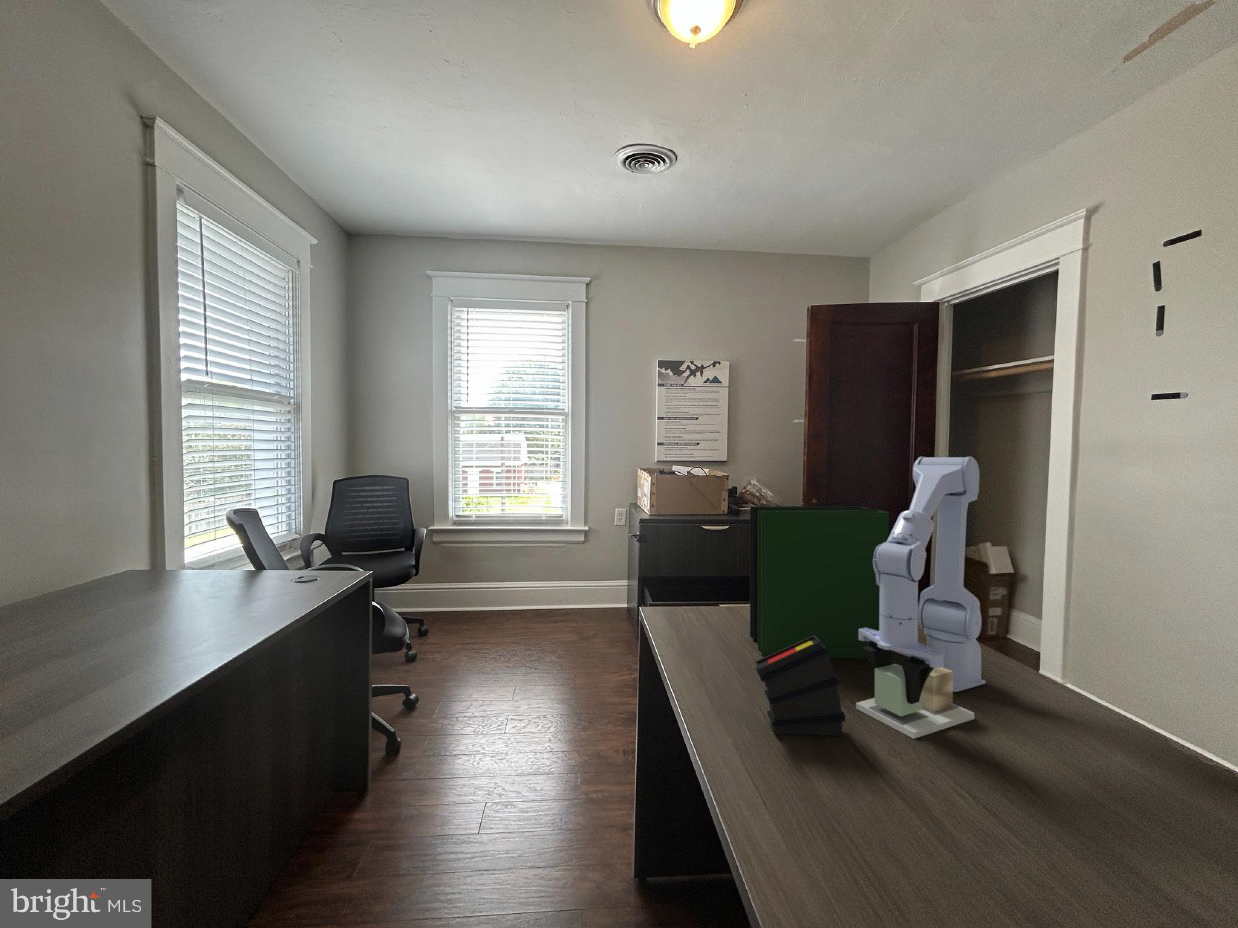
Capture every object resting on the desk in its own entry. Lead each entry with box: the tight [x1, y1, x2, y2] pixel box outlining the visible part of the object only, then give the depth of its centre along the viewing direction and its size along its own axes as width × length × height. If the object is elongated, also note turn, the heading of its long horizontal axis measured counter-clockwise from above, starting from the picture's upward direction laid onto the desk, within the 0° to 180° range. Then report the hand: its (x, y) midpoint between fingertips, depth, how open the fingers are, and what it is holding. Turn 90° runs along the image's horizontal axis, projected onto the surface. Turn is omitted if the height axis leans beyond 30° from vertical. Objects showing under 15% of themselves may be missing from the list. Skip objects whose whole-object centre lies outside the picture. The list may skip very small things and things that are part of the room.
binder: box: [749, 505, 890, 659], centre depth 124 cm, size 27×15×32 cm, turn 87°
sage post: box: [874, 663, 922, 716], centre depth 89 cm, size 5×5×6 cm
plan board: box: [855, 697, 975, 739], centre depth 91 cm, size 15×11×1 cm
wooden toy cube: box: [922, 667, 954, 712], centre depth 93 cm, size 5×5×6 cm
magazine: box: [754, 635, 846, 737], centre depth 86 cm, size 4×13×15 cm, turn 87°
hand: (897, 695), depth 89 cm, fingers closed on sage post, 5 cm apart
